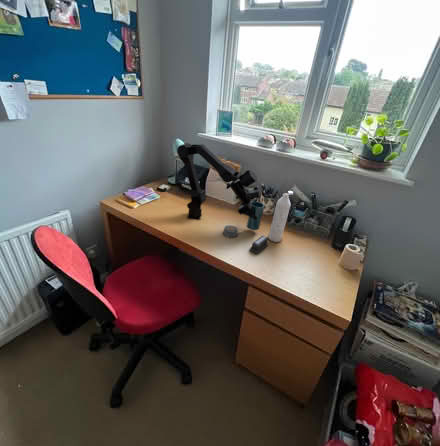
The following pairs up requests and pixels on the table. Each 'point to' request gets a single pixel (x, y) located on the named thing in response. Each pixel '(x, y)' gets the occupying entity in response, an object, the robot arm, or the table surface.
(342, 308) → the table surface
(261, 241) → the stapler
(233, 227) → the tape roll
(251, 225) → the pen pot
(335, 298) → the table surface
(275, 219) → the water bottle
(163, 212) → the table surface
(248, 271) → the table surface
